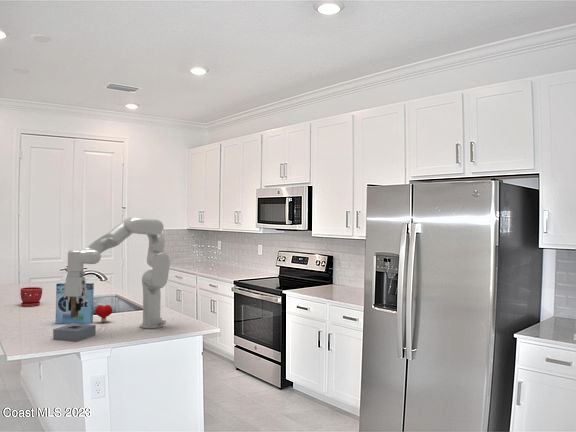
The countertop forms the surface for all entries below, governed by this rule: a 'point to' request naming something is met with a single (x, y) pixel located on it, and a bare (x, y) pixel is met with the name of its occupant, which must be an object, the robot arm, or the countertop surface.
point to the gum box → (65, 315)
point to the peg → (73, 307)
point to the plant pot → (32, 299)
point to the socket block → (74, 332)
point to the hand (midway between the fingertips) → (74, 310)
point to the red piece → (103, 312)
